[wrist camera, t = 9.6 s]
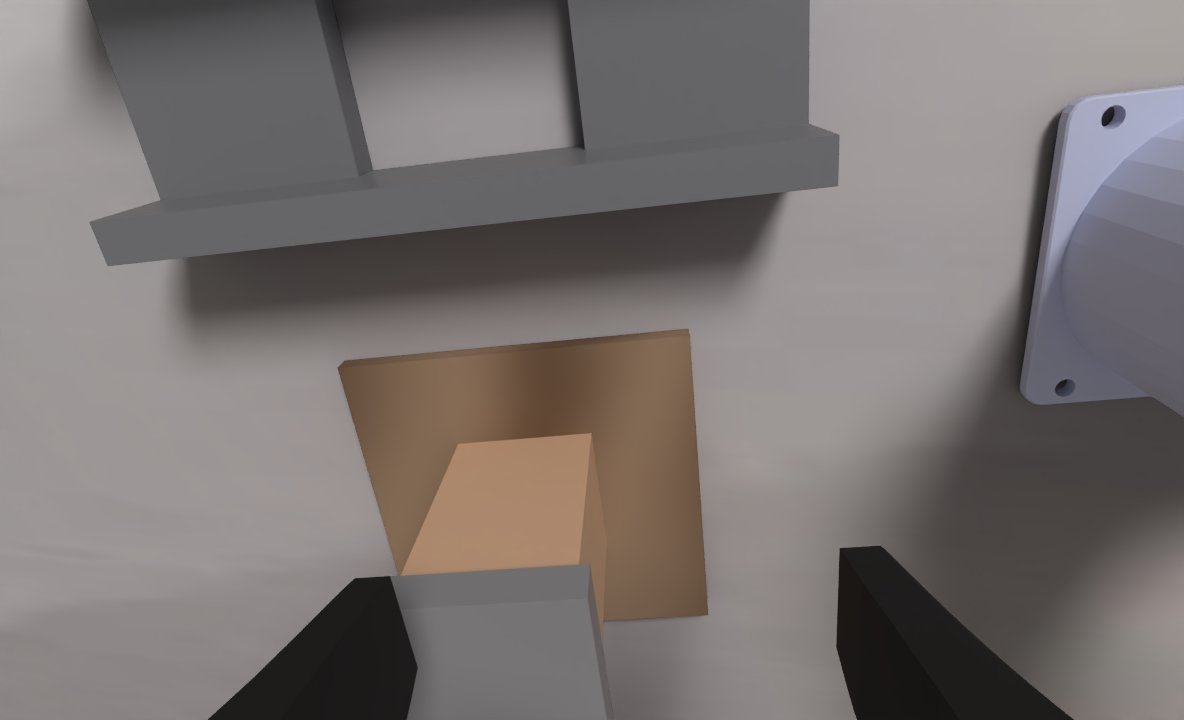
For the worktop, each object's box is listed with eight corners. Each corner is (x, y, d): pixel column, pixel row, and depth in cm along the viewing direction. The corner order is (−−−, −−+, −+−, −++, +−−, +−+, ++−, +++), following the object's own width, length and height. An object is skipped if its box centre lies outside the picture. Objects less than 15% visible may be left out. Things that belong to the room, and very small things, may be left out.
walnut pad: (688, 328, 19) (689, 335, 18) (706, 604, 23) (708, 615, 22) (344, 360, 20) (337, 368, 19) (419, 620, 24) (415, 630, 23)
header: (799, -218, 14) (850, -299, 11) (798, 162, 17) (838, 186, 14) (80, -101, 15) (-62, -142, 12) (197, 230, 18) (107, 266, 15)
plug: (600, 423, 20) (587, 598, 13) (616, 550, 22) (613, 756, 15) (446, 436, 20) (362, 611, 14) (475, 559, 22) (413, 764, 16)
